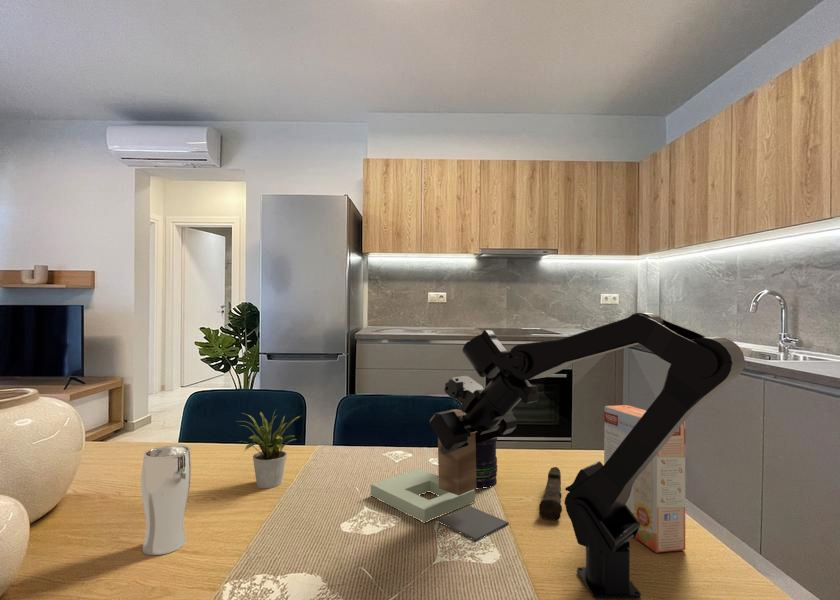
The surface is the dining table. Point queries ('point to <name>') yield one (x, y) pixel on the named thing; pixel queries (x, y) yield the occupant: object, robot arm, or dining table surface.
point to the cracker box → (653, 482)
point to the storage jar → (486, 463)
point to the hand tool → (552, 496)
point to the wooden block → (458, 466)
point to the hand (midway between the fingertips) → (451, 449)
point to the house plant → (269, 452)
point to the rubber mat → (473, 522)
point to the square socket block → (406, 495)
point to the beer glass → (165, 497)
